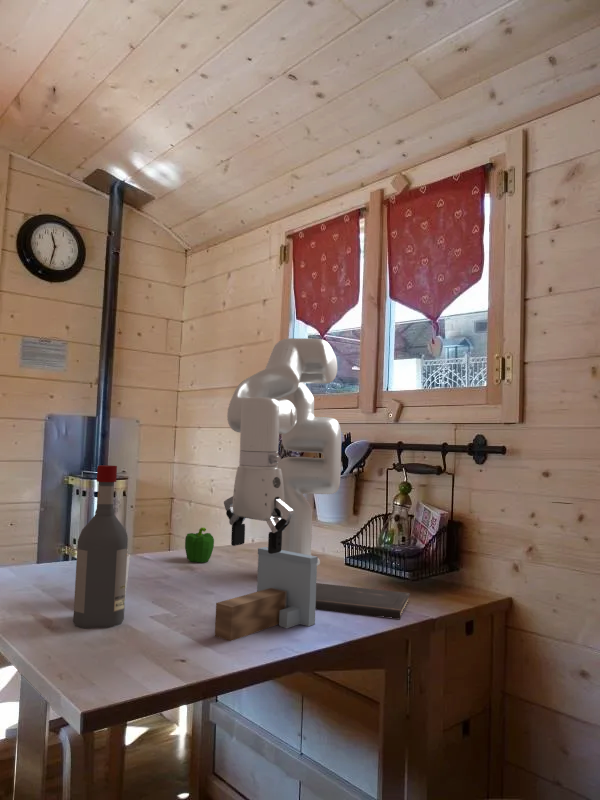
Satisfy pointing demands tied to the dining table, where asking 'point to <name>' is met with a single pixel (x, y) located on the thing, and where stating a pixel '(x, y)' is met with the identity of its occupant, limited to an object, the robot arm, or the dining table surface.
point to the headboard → (290, 583)
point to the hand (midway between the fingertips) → (255, 548)
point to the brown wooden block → (249, 613)
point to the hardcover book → (360, 600)
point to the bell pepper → (199, 546)
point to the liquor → (101, 561)
